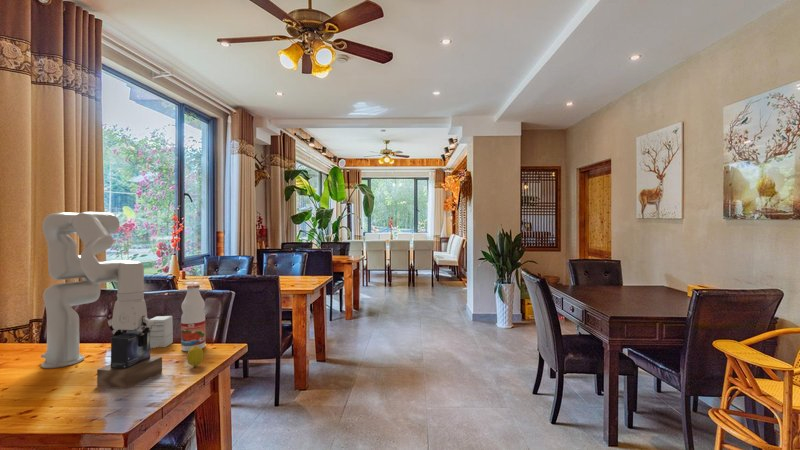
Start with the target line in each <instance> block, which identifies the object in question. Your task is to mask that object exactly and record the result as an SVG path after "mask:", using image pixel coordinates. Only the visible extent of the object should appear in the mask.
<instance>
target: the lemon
mask: <svg viewBox="0 0 800 450" xmlns="http://www.w3.org/2000/svg"><path fill="white" fill-rule="evenodd" d="M204 354H205V353H204V351H203V348H202V349H201V348H200V347H197V346H194V347H193V348H191V349H190V350H189V351H187V355H186V359H187V360H186V361H187V363H188V365H190V366H193V367H194V368H197V366H198V365H201V363H202V362H203V359H204V356H205V355H204Z"/></svg>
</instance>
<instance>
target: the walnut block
mask: <svg viewBox="0 0 800 450" xmlns="http://www.w3.org/2000/svg"><path fill="white" fill-rule="evenodd" d="M96 370H97V371H96V375H97V376H96V377H97V378H96V380H97V381H96V382H97V383H96V387H104V388H105V387H106V388H112V389H113V388H114V389H126V390H128V389H129V388H132V387H134V386H136V385H139V384H140V383H143V382H144V381H147V380H149V379H151V378H153V377H155V376H157V374H158V375H159V373H160V374H162V373H163V357H162V356H153V355H152V356H151V355H150V358H149V359H147V360H145V361H142V362H140V363H138V364H135V365H133V366H131V367H129V368H111V363H110V364H109V365H105V366H103V367H100V368H97V369H96ZM161 372H162V373H161Z"/></svg>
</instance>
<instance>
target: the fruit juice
mask: <svg viewBox="0 0 800 450" xmlns="http://www.w3.org/2000/svg"><path fill="white" fill-rule="evenodd" d="M200 288H201V287H200V284H194V283H193V284H188V285H187V286H186V289H187V291H186V294H185V297H184V300H183V301H182V302H181V311H182V314H181V318H180V331H181V332H180V338H181V339H180V346H181V347H180V348H181V351H183V352H188V351H189V350H190V349H191V348H193V347H194V346H197V347H200V348H201V349H202V350H203V349H204V348H205V347H206V312H205V311H204V310H205V307H206V302H205V300H204V299H203V296H202V295H201V292H200Z"/></svg>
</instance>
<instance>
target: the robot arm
mask: <svg viewBox="0 0 800 450" xmlns="http://www.w3.org/2000/svg"><path fill="white" fill-rule="evenodd" d="M120 225H121V223H120V220H119V218H118V217H117V215H115V214H114V213H111V212H105V211H104V212H100V211H82V212H54V213H49V214H48V215H46V216H45V217H44V219H43V222H42V233H43V236H44V238H45V241H46V244H47V268H48V269H47V270H48V274H49V277H50V278H51V279H52V280H56V281H60V280H61V281H62V280H63V281H64V280H73V279H75V280H76V279H82V280H80V281H69V282H61V283H56V284H52V285H50V286H48V287H47V288H45V290H44V291H43V296H42V297H43V302H44V307H45V312H46V351H45V352H44V353H42V354H41V355H40V358H42V359H43V358H44V361H43V362H42V363H41V368H44V369H56V368H57V369H58V368H62V367H63V368H64V367H66V366H67V367H68V366H72V365H75V364H77V363H80V362H82V361H84V360H85V355H83V354H80V315H79V314H78V312H77V311H76V310H75V309H73V308H72V307H74V306H79V305H84V304H91V303H95V302H96V301H98V300H99V299H100V296H101V284H104V283H106V284H107V283H111V282H112V283H113V282H117V293H116V295H115V296H116V297H117V298H116V299H117V300H115V302H114V307H113V310H112V318H110V319H108V320H107V323H108V326H109V330H110V331H111V334H112V335H113V337H115V336H118V335H121V334H124V332H123V331H129V332H130V331H134V330H137V331H138V332H139V334H140V335H139V336H138V346H139V347H142V346H144V345H147V333H149V331H150V330H151V329H152V326H153V324H154V322H153V321H152V320H150V319H151V318H148V310H147V303H146V300H145V296H144V295H145V291H144V288H145V287H144V286H145V265H144V263H143V262H141V261H135V260H134V261H133V260H131V259H120V260H119V259H118V260H116V259H115V260H105V261H103V260H102V261H99V259H98V258H97V257H96V255H98V254H100V253H101V254H102V253H103V252H105V251H107V250H108V249H110V248H111V247H112V246H113V244H114V238H113V236H112V235H111V234H114V233H117V232H118V230H119V228H120ZM70 235H78V237H79V239H80V240H81V242H82V244H83V245H84V246H85V247H84V248H83V250H82V252H80V253H81V254H78V252H77V251H78V249H77V248H78V247H77V242H76V241H75V240H74V239H73V238H72V236H70Z"/></svg>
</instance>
